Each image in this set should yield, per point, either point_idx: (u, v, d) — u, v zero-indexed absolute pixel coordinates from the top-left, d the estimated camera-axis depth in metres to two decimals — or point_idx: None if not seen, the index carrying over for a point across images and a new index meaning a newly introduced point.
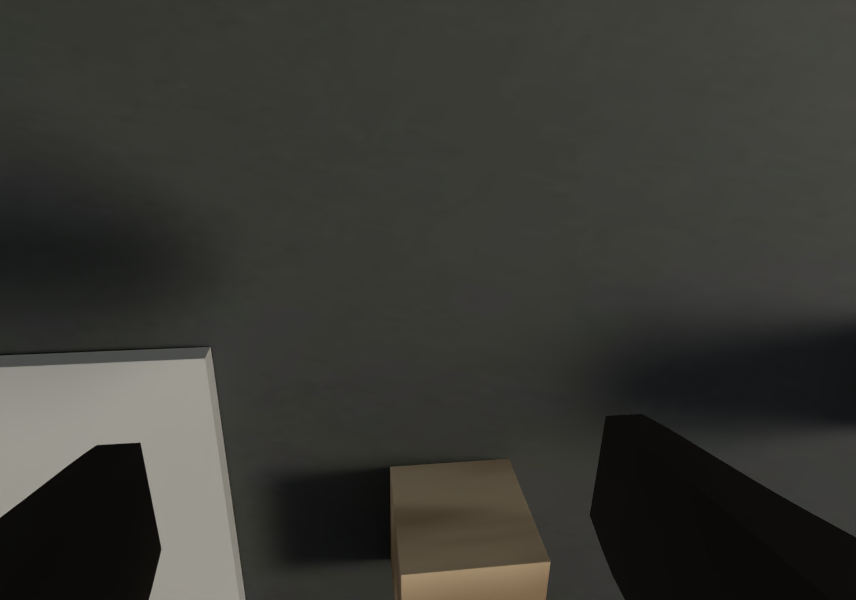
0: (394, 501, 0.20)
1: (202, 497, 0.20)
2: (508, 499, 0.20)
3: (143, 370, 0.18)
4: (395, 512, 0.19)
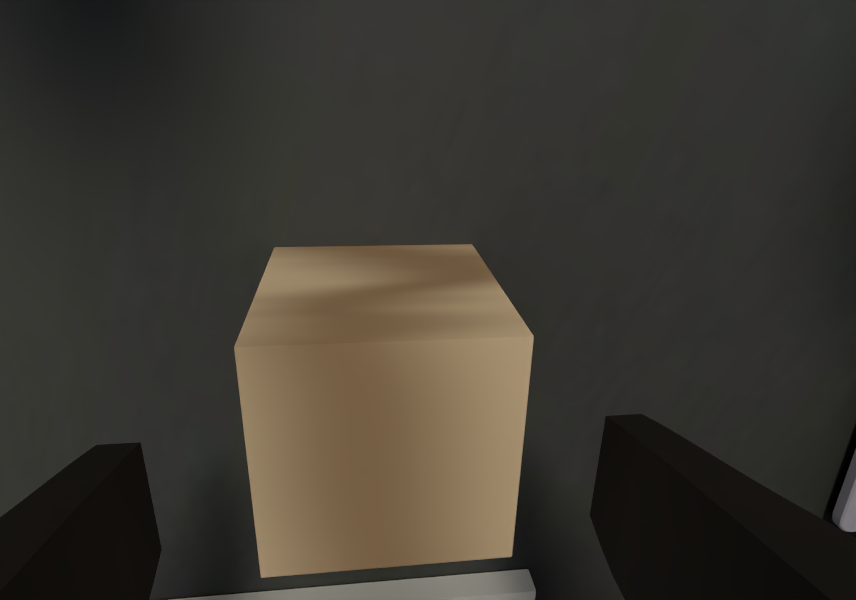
0: None
1: None
2: None
3: None
4: None
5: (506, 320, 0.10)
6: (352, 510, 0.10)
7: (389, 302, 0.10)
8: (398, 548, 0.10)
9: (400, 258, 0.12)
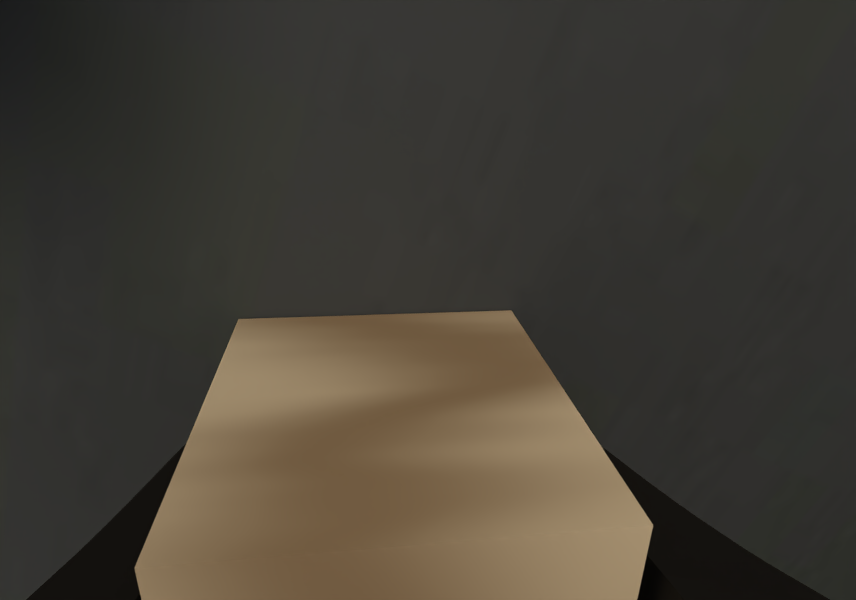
0: None
1: None
2: None
3: None
4: None
5: (597, 481, 0.06)
6: None
7: (405, 439, 0.06)
8: None
9: (415, 340, 0.09)
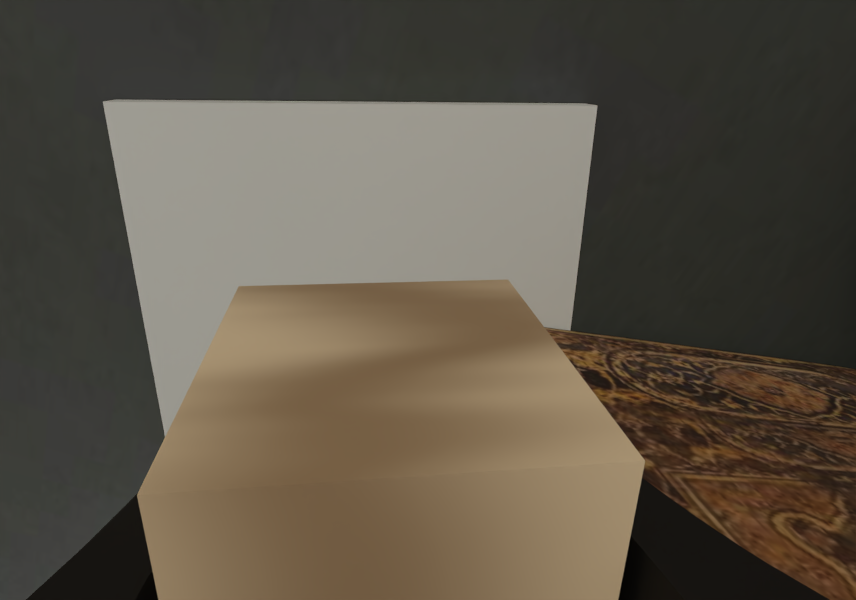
0: None
1: (336, 134, 0.14)
2: None
3: (131, 181, 0.14)
4: None
5: (590, 424, 0.06)
6: None
7: (402, 388, 0.07)
8: None
9: (413, 304, 0.09)
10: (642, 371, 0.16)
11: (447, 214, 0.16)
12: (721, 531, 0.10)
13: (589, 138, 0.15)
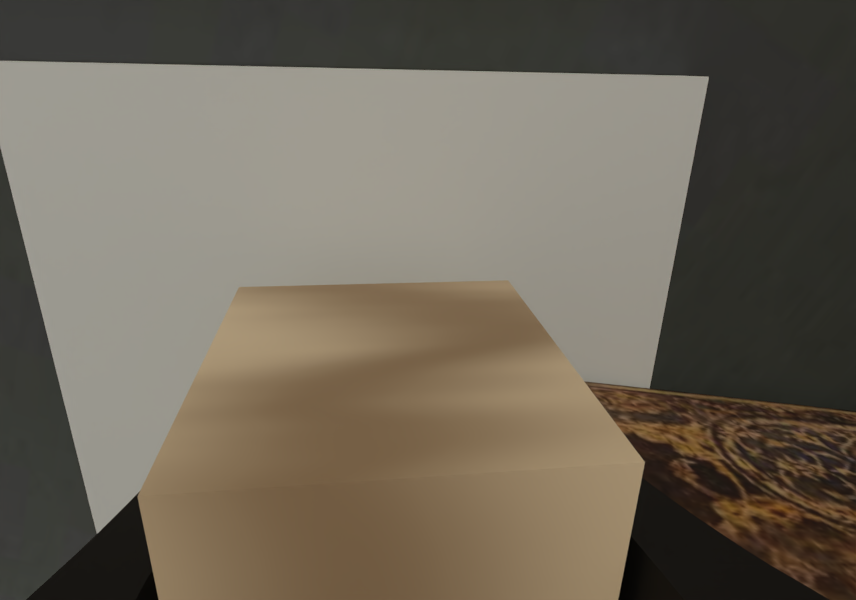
0: None
1: (333, 115, 0.10)
2: None
3: (29, 182, 0.10)
4: None
5: (590, 425, 0.06)
6: None
7: (402, 389, 0.07)
8: None
9: (413, 305, 0.09)
10: (767, 457, 0.11)
11: (490, 231, 0.11)
12: None
13: (694, 124, 0.11)
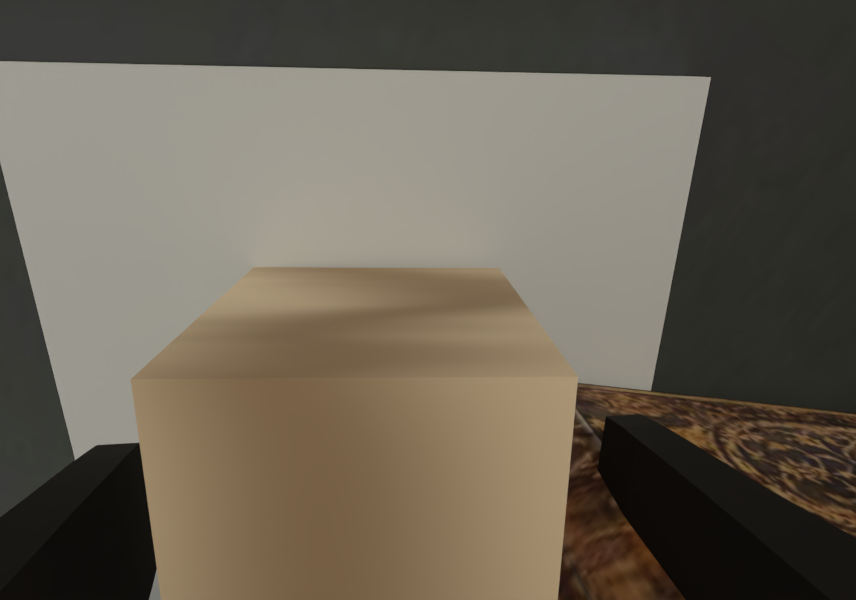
0: None
1: (332, 115, 0.10)
2: None
3: (26, 183, 0.10)
4: None
5: (537, 354, 0.07)
6: None
7: (375, 329, 0.07)
8: None
9: (404, 281, 0.10)
10: (769, 460, 0.11)
11: (490, 232, 0.11)
12: None
13: (696, 125, 0.11)
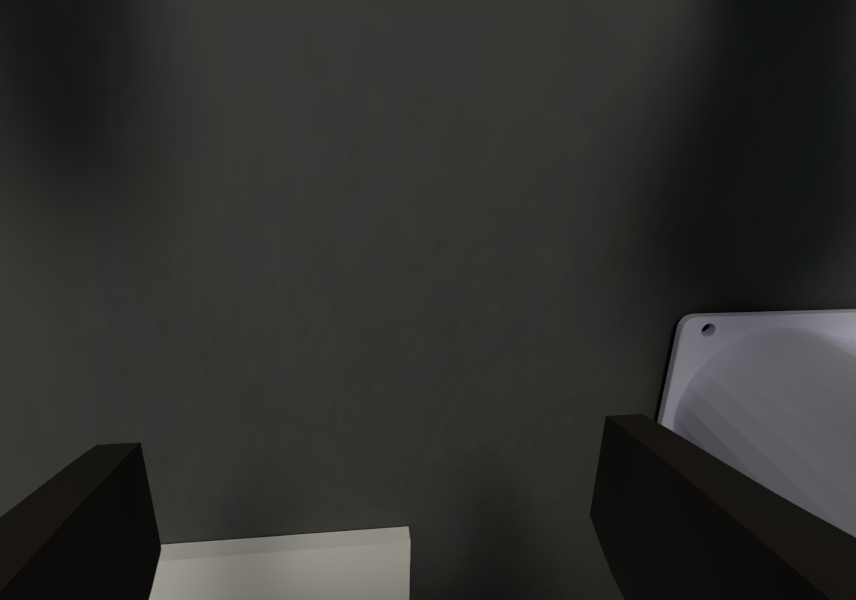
0: None
1: (231, 570, 0.22)
2: None
3: None
4: None
5: None
6: None
7: None
8: None
9: None
10: None
11: None
12: None
13: (407, 557, 0.23)
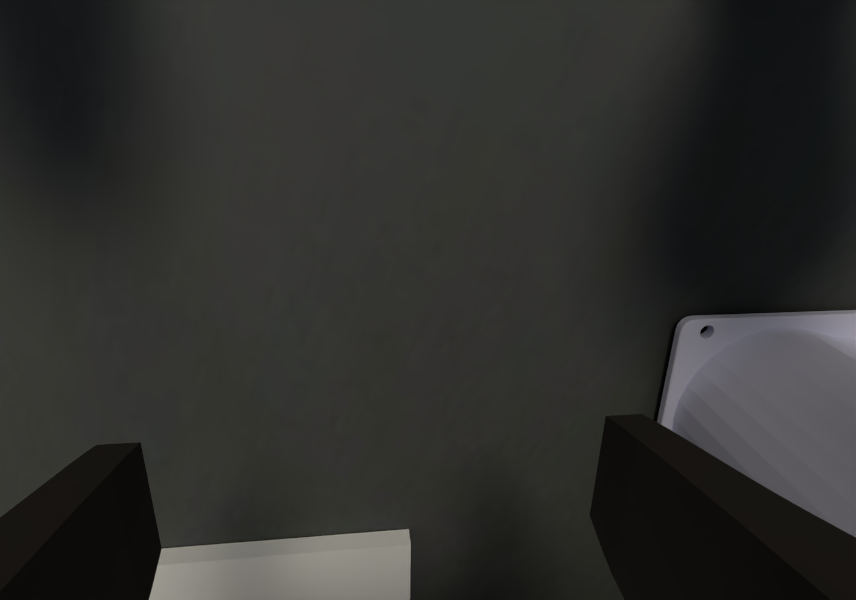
0: None
1: (232, 574, 0.22)
2: None
3: None
4: None
5: None
6: None
7: None
8: None
9: None
10: None
11: None
12: None
13: (408, 560, 0.23)
